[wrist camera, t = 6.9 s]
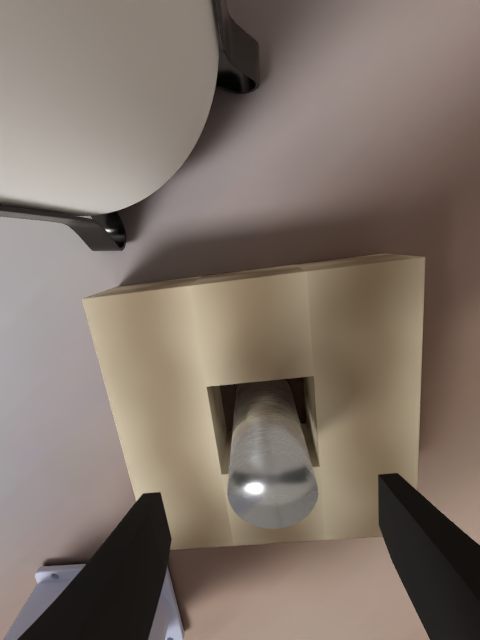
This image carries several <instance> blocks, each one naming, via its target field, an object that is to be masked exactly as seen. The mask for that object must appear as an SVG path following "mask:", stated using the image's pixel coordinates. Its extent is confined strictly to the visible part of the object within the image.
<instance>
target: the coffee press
mask: <svg viewBox="0 0 480 640" xmlns="http://www.w3.org/2000/svg"><path fill="white" fill-rule="evenodd" d="M217 14H218V15H217ZM218 21H219V27H220V33H221V39H222V44H223V49H224V52H222V51H220V50H219V28H218ZM258 86H259V45H258V43H257V41H256V40H255V39H253V38H252V37H251V36H250V35H249V34H247V33H246V32H245V31H244V30H243V29H242V28H240V27H239V26H238V25H237V24H236V23H235V21H234V20H233V19H232V17H231V16H230V14H229V11H228V8H227V3H226V0H0V217H10V218H20V219H30V220H40V221H49V222H57V223H62V224H65V225H67V226H69V227H70V228H71V229H73V230H74V231H75V232H76V233H77V234H78V235H79V236H80V237H81V239H82V240H83V241H84V242H85V243H86V244H87V245H88V247H89V248H90V249H91V250H93V251H122V250H123V249H124V248H125V245H126V232H125V228H124V225H123V223H122V220H121V218H120V216H119V214H118V212H117V210H121V209H123V208H126V207H129V206H131V205H133V204H135V203H137V202H139V201H141V200H143V199H145V198H146V197H148V196H149V195H151V194H152V193H154V192H155V191H157V190H158V189H159V188H160V187H162V186H163V185H164V184H165V183H166V182H167V181H168V180H169V179H170V178H171V177H172V176H173V175H174V174H175V173H176V172H177V171H178V170H179V168H180V167H181V166H182V165H183V163H184V162H185V161H186V159H187V158H188V156H189V155H190V153H191V151H192V150H193V148H194V146H195V145H196V143H197V141H198V139H199V137H200V135H201V132H202V130H203V128H204V125H205V123H206V120H207V117H208V114H209V111H210V108H211V104H212V101H213V96H214V92H215V87H217V88H220V89H222V90H225V91H227V92H230V93H235V94H245V93H250V92H252V91H254V90H256V89H257V88H258ZM78 216H91V217H92V219H89V218H84V217H78Z"/></svg>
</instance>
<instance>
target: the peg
mask: <svg viewBox="0 0 480 640" xmlns="http://www.w3.org/2000/svg"><path fill="white" fill-rule="evenodd" d="M227 495H228V500H229V503H230V505H231V507H232V509H233V510H234V512H235V513H236V514H237V515H238V516H239V517H240V518H241V519H243V520H244V521H246V522H248V523H249V524H252V525H254V526H257V527H261V528H268V529H278V528H284V527H288V526H291V525H294V524H296V523H298V522H300V521H301V520H303V519H304V518H305V517H307V516H308V515H309V514H310V512H311V511H312V510H313V508H314V506H315V504H316V502H317V498H318V486H317V482H316V478H315V475H314V471H313V468H312V464H311V460H310V457H309V453H308V450H307V446H306V442H305V439H304V435H303V432H302V428H301V424H300V421H299V417H298V414H297V410H296V407H295V403H294V399H293V396H292V392H291V389H290V385H289V383H288V381H287V380H286V379H280V380H270V381H260V382H249V383H239V384H238V385H237V389H236V397H235V409H234V420H233V432H232V443H231V454H230V466H229V477H228V488H227Z"/></svg>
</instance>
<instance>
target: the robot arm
mask: <svg viewBox="0 0 480 640" xmlns="http://www.w3.org/2000/svg"><path fill="white" fill-rule="evenodd" d="M378 515H379V527H380V530H381V533H382V535H383V538H384V541H385V543H386V546H387V549H388V551H389V554H390V556H391V559H392V562H393V564H394V566H395V568H396V570H397V572H398V574H399V577H400V579H401V581H402V583H403V585H404V587H405V589H406V591H407V593H408V595H409V597H410V599H411V601H412V603H413V605H414V608H415V610H416V612H417V614H418V616H419V618H420V620H421V622H422V624H423V626H424V628H425V630H426V632H427V634H428V636H429V638H430V640H480V545H479V544H477V543H476V542H475V541H474V540H473V539H471V538H470V537H469V536H468V535H467V534H466V533H464V532H463V531H462V530H461V529H460V528H459V527H457V526H456V525H455V524H454V523H453V522H452V521H450V520H449V519H448V518H447V517H446V516H445V515H444V514H442V513H441V512H440V511H439V510H438V509H437V508H436V507H435V506H433V505H432V504H431V503H430V502H429V501H428V500H427V499H426V498H425V497H424V496H422V495H421V494H420V493H419V492H418V491H417V490H416V489H415V488H414V487H413V486H412V485H410V484H409V483H408V482H407V481H406V480H405V479H404V478H403V477H402V476H401V475H399V474H398V473H390V474H378ZM171 540H172V538H171V534H170V530H169V526H168V521H167V517H166V513H165V509H164V504H163V500H162V496H161V492H154V493H143V494H142V495H141V497H140V498H139V499H138V500H137V501H136V503H135V504H134V505H133V507H132V508H131V509H130V510H129V512H128V513H127V514H126V515H125V517H124V518H123V519H122V521H121V522H120V523H119V524H118V526H117V527H116V528H115V529H114V531H113V532H112V533H111V535H110V536H109V537H108V538H107V539H106V541H105V542H104V543H103V544H102V546H101V547H100V548H99V549H98V551H97V552H96V553H95V554H94V555H93V557H92V558H91V559H90V560H89V562H88V563H87V564H74V565H58V566H43V567H40V568H39V569H38V570H37V572H36V574H35V578H36V580H37V583H38V584H37V586H36V587H35V589H34V590H33V592H32V594H31V595H30V597H29V598H28V600H27V602H26V603H25V605H24V607H23V608H22V610H21V611H20V613H19V615H18V616H17V618H16V619H15V621H14V623H13V624H12V626H11V628H10V629H9V631H8V632H7V634H6V636H5V637H4V639H3V640H184V629H183V626H182V622H181V618H180V614H179V610H178V606H177V602H176V598H175V594H174V590H173V586H172V582H171V578H170V574H169V570H168V566H167V564H168V559H169V553H170V547H171Z"/></svg>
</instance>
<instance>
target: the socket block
mask: <svg viewBox="0 0 480 640" xmlns="http://www.w3.org/2000/svg"><path fill="white" fill-rule="evenodd" d="M424 283H425V257H420V256H409V255H399V254H388V253H384V254H375V255H367V256H359V257H351V258H343V259H335V260H327V261H319V262H311V263H303V264H295V265H287V266H279V267H271V268H263V269H254V270H246V271H238V272H230V273H222V274H214V275H206V276H198V277H190V278H182V279H174V280H166V281H158V282H150V283H142V284H134V285H125V286H118V287H115V288H112V289H109V290H106V291H103V292H101V293H98V294H95V295H92V296H89V297H86V298H83V299H82V301H83V305H84V308H85V312H86V316H87V320H88V323H89V327H90V331H91V335H92V338H93V342H94V346H95V349H96V353H97V357H98V361H99V364H100V368H101V372H102V376H103V379H104V383H105V387H106V390H107V394H108V398H109V402H110V405H111V409H112V413H113V417H114V420H115V424H116V428H117V431H118V435H119V439H120V443H121V446H122V450H123V454H124V458H125V461H126V465H127V469H128V472H129V476H130V480H131V484H132V487H133V491H134V495H135V498H136V501H137V500H138V499H139V498H140V497H141V495H142V494H143V493H154V492H161V496H162V500H163V504H164V509H165V513H166V517H167V521H168V526H169V530H170V534H171V538H172V540H171V547H170V550H178V549H193V548H209V547H225V546H240V545H256V544H271V543H287V542H303V541H318V540H334V539H349V538H365V537H381V536H383V535H382V533H381V530H380V527H379V515H378V474H390V473H398V474H399V475H401V476H402V477H403V478H404V479H405V480H406V481H407V482H408V483H409V484H410V485H412V486H413V487H414V488H415V489H416V490H417V481H418V452H419V424H420V396H421V368H422V340H423V311H424ZM300 377H303V386H304V399H305V411H306V423H303V424H301V428H302V432H303V435H304V439H305V442H306V446H307V450H308V453H309V457H310V460H311V464H312V468H313V471H314V475H315V478H316V482H317V486H318V498H317V502H316V504H315V506H314V508H313V510H312V511H311V512H310V514H309V515H308V516H307V517H305V518H304V519H303V520H301V521H300V522H298V523H296V524H294V525H291V526H288V527H284V528H278V529H268V528H261V527H257V526H254V525H252V524H249V523H248V522H246V521H244V520H243V519H241V518H240V517H239V516H238V515H237V514H236V513H235V512H234V510H233V509H232V507H231V505H230V503H229V500H228V495H227V488H228V477H229V466H230V454H231V443H232V432H233V430H227V428H226V422H225V415H224V409H223V403H222V396H221V390H220V385H229V384H239V383H249V382H260V381H270V380H280V379H290V378H300Z"/></svg>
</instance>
